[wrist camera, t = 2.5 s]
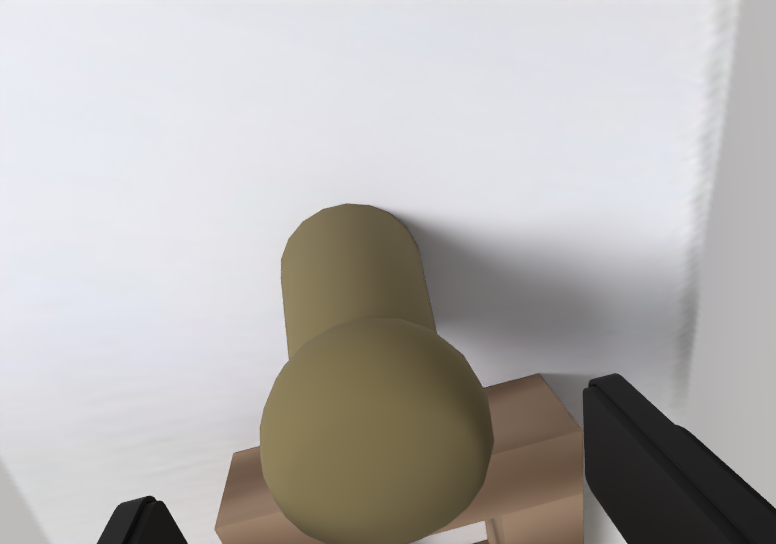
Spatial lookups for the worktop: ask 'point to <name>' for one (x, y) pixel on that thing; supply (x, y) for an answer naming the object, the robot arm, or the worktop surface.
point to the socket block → (492, 503)
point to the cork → (369, 390)
